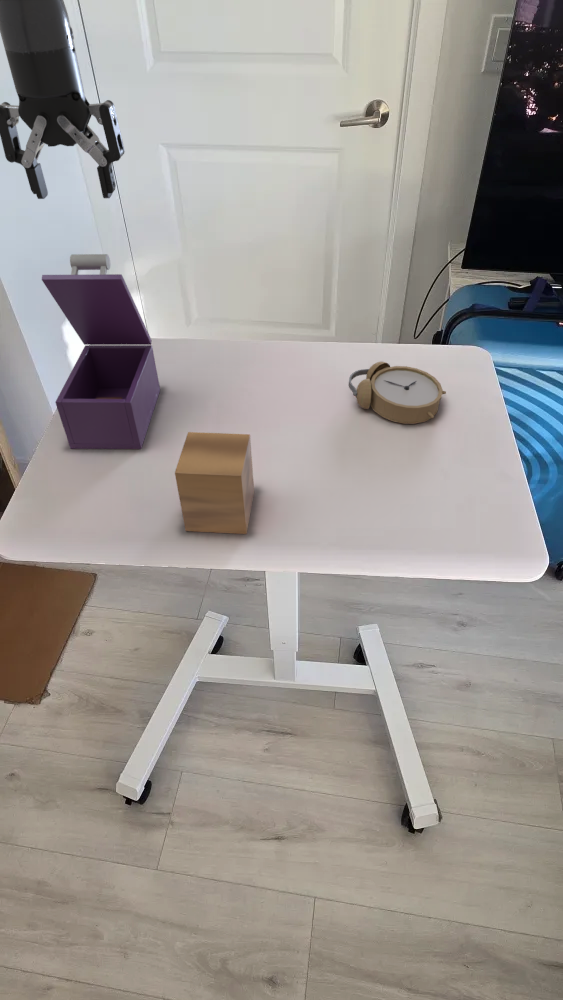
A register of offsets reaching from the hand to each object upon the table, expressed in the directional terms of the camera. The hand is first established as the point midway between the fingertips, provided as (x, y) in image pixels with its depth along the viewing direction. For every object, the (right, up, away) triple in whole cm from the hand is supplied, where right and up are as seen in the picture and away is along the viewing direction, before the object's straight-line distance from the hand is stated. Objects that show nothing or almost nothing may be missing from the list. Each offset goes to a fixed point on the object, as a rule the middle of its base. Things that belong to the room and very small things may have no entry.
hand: (75, 196), depth 81 cm
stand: (+18, -41, +3) cm, 45 cm away
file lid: (0, -12, +10) cm, 16 cm away
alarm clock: (+45, -23, +20) cm, 54 cm away
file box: (+1, -26, +19) cm, 32 cm away
